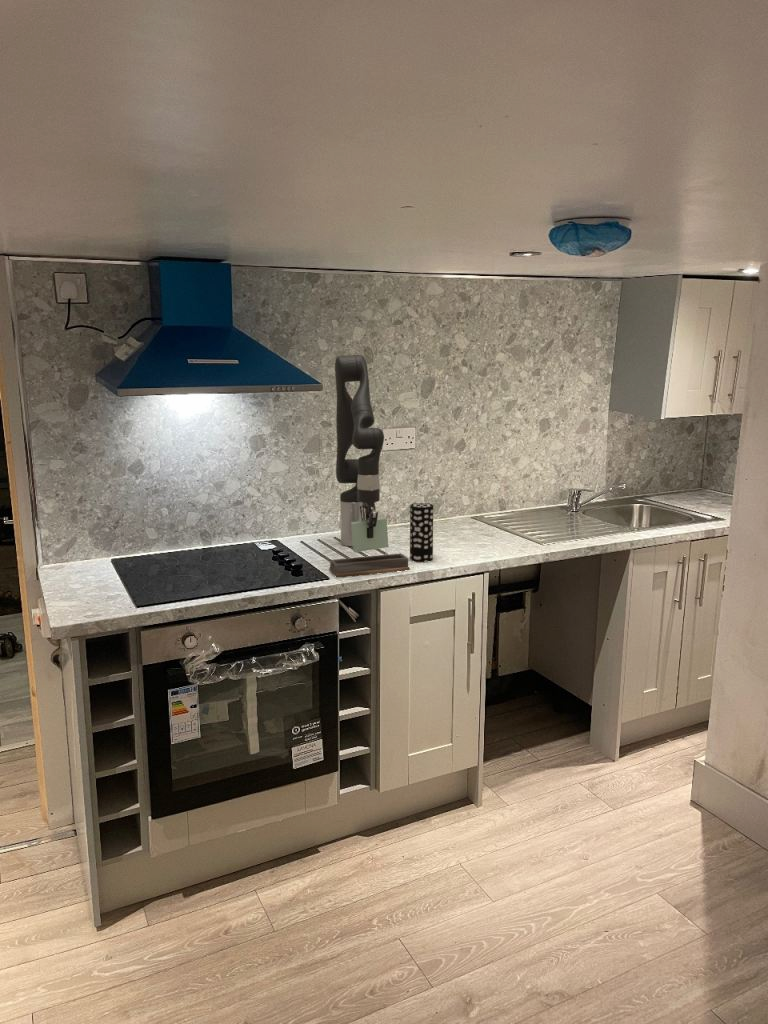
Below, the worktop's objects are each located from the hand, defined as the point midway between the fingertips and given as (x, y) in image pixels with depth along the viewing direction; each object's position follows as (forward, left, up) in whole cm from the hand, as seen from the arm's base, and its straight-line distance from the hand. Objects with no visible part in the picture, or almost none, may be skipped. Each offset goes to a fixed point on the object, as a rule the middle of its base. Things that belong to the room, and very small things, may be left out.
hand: (368, 536), depth 266 cm
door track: (0, 0, -12) cm, 12 cm away
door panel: (0, +1, -4) cm, 4 cm away
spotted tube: (-7, +22, -12) cm, 26 cm away
